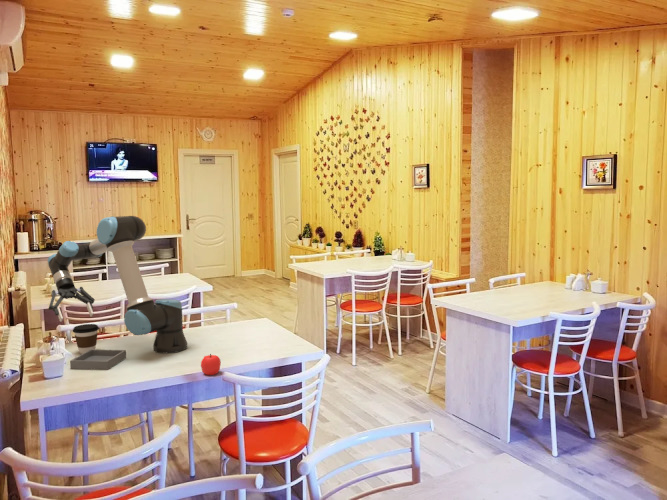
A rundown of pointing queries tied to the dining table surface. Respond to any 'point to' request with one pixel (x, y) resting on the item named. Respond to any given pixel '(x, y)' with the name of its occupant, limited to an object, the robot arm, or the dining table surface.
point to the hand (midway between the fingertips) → (77, 317)
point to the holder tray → (98, 359)
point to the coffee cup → (86, 337)
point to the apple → (210, 364)
